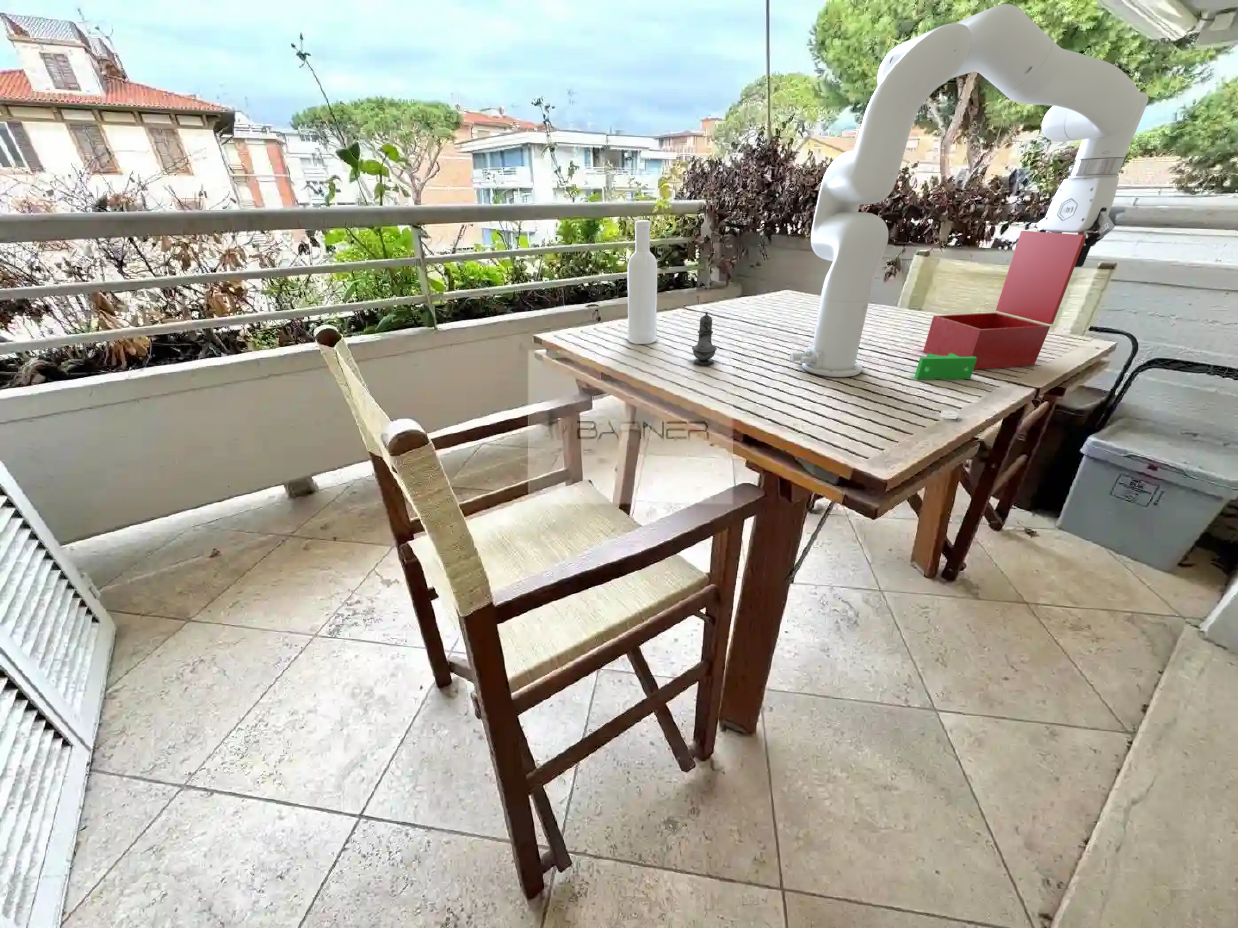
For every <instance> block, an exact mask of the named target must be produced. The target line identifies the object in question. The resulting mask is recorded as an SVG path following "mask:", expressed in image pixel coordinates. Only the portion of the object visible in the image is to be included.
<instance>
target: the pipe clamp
mask: <svg viewBox="0 0 1238 928" xmlns="http://www.w3.org/2000/svg"><path fill="white" fill-rule="evenodd" d="M976 361H977V358H976V357H959V356H957V355H955V354H953V353H949V355H948V356H939V355H934V354H927V355H926V356H923V357H922V356H921V357H919V361H918V362H917V363H918V364H917V366H916V371H915V374H914V377H913V378H914V379H916V380H969V379H971V378H972V375H973V372H974V370H975V369H974V366H975V364H976ZM965 367H966V368H965ZM964 368H965V369H964Z"/></svg>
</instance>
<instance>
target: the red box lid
mask: <svg viewBox="0 0 1238 928" xmlns="http://www.w3.org/2000/svg"><path fill="white" fill-rule="evenodd" d="M1086 237H1087V235H1078V233H1063V232H1062V233H1048V232H1039V231H1033V230H1020V233H1019V236H1018V239H1017V243H1016V245H1015V247H1014V248H1015V249H1014V251H1013V255H1012V258H1011V261H1010V264H1009V267H1008V270H1007V274H1006V277H1005V280H1004V284H1003V286H1002V288H1001V292H1000V295H999V299H998V302H997V305H996V308H995V312H998V313H1002V314H1006V315H1010V316H1014V317H1015V316H1016V317H1018V318H1022V319H1026V320H1030V321H1031V320H1032V321H1034V322H1039V323H1042V324H1048V325H1053V324H1054V323H1055V319H1056V317H1057V315H1058V311H1059V309H1060V306H1061V305H1062V301H1063V298H1064V296H1065V294H1066V291H1067V288H1068V286H1069V282H1070V281H1071V278H1072V275H1073V273H1074V269H1075V268H1076V267H1075V265H1076V262H1077V259H1078V257H1079V254H1080V251H1081V249H1082V246H1083V244H1084V241H1085V238H1086Z"/></svg>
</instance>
